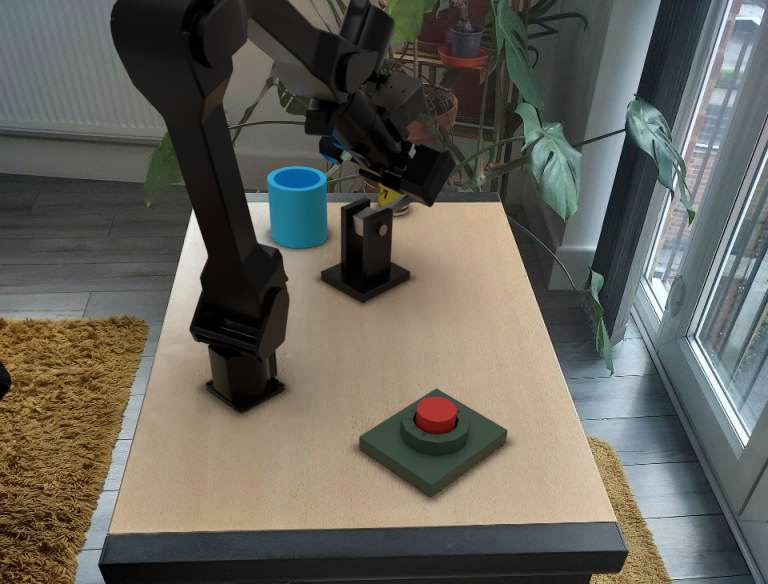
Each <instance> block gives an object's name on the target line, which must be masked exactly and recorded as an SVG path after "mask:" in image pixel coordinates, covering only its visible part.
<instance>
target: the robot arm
mask: <svg viewBox="0 0 768 584" xmlns="http://www.w3.org/2000/svg"><path fill="white" fill-rule="evenodd" d="M340 23H341V24H340V25H339V29H338V32H337V34H336V33H334V32H331V31H327V30H325V29H322V28H319V27H317V26H315V25H313V24H312V22H311V21H309V19H308V18H307V17H305V15H304V14H303V13H302V12H301V11H300V10H299V9H298V8H297V7H296V6H295V5H294V4H293V2H291V1H290V0H116V1H115V3H114V4H113V5H112V9H111V11H110V19H109V30H110V35H111V41H112V43H113V46H114V48H115V51H116V53H117V55H118V58H119V59H120V61H121V64H122V66H123V67H124V69H125V72H126V73H127V76H128V78H129V80H130V81H131V83H132V84H131V85H133V87H134V88H135V89H136V90H137V91H138V92H139V93H140V95H142V96H143V97H144V99H146V101H147V102H148V103H150V105H151V106H152V107H153V108H154V109H155V110H156V111H157V112H158V114H159V115H160V116H161V117H162V119H163V121H164V124H165V126H166V130H167V134H168V136H169V139H170V143H171V145H172V148H173V151H174V154H175V158H176V161H177V164H178V167H179V170H180V174H181V176H182V179H183V182H184V185H185V188H186V191H187V195H188V198H189V201H190V204H191V207H192V211H193V214H194V216H195V220H196V222H197V225H198V228H199V232H200V236H201V238H202V241H203V244H204V247H205V250H206V255H207V258H206V260H205V263H204V265H203V268H202V270H201V273H200V275H199V282H200V285H201V287H200V288H201V291H200V294H199V298H198V300H197V303H196V306H195V309H194V312H193V314H192V315H193V316H192V318H191V322H190V325H189V327H188V331H189V333H190V335H191V336H192V338H193V340H194V342H196V343H199V344H200V343H202V344H205V345H207V352H208V359H209V365H210V371H211V379H210V380H208V381H205V389H206V390H208V391H209V392H210V393H212V394H213V395H215V397H217V398H219V399H220V400H221V401H223V402H224V403H226V404H227V405H229V406H230V407H231V408H233V409H234V410H236V411H237V412H239V413H244V412H246V411H248V410H250V409H251V408H253V407H255V406H257V405H259V404H261V403H262V402H264V401H266V400H268V399H270V398H271V397H273V396H275V395H278V394H279V393H281V392H282V391H284V390H285V389H286V385H285V383H284V382H283V381H281V380H279V379H278V378H276V377H278V374H279V373H278V361H277V350H278V349H279V347H281V346H282V345H283V344H284V343H285V340H286V335H287V326H288V318H289V311H290V293H289V290H288V286H287V282H289V277H288V275H287V273H286V270H285V265H284V256H283V254H282V252H281V250H280V249H279V247H275V246H271V245H267V244H263V243H259V242H258V239H257V235H256V231H255V227H254V223H253V219H252V215H251V211H250V208H249V204H248V200H247V196H246V191H245V187H244V184H243V180H242V176H241V172H240V168H239V164H238V159H237V156H236V153H235V147H234V143H233V141H232V136H231V133H230V129H229V124H228V120H227V116H226V113H225V108H224V102H223V100H224V98H225V94H226V92H227V89H228V86H229V84H230V81H231V78H232V75H233V72H234V62H233V61H234V60H233V56H234V55H235V54H236V53H237V52H238V51H240V49H241V48H243V47H244V45H246V43H247V42H248V40H249V41H250V42H251V43H252V44H253V45H254V46H256V47H257V48H258V49H259V50H260V51H262V52H263V53H264V54H265V55H267V56H268V58H270V59H271V60H272V61H273V62H274V64H276V67H275V72H274V73H275V75H276V78H277V79H278V80H279V82H280V83H281V84H282V86H283V87H284V88H285V90H286V91H287V92H288V93H289V94H290V95H293V96H298V97H303V98H308V99H310V101H309V105H308V108H306V109H305V111H304V113H305V120H304V123H303V127H304V128H303V129H304V130H303V131H304V134H305V135H306V136H314V137H320V139H319V141H318V154H320V155H321V156H322V157H323V158H324V159H325V160H326V161H328V162H330V163H332V164H334V165H337V166H338V167H342V165H343V163H344V162H345V160H344V159H343V158H342V157H341V156H342V154H343V153H344V151H345V152H347V153H348V154H349V155H351V157H350V159H349V161H350V163H351V164H352V165H353V166H354V167H357V168H358V170H357V171H358V172H357V173H358V175H359V176H360V177H362V178H364V179H367V180H369V181H372V182H374V183H377V184H379V183H380V184H382V186H385V187H387V188H389V189H391V190H393V191H396V192H400V191H403V192H404V193H405V194H407V195H408V196H409V197H411V198H412V199H415V200H417V201H419V202H421V203H424V204H426V205H430V204H432V203H434V204H435V202H436V199H437V198H438V196H439V195H440V193H441V191H442V190H443V188H444V186H445V184H446V182H447V181H448V179H449V177H450V175H451V174H452V172H453V170H454V169H455V167H456V166H457V161H456V160H457V159H456V157H455V155H454V154H453V153H452V152H451V150H450V149H448V148H445V147H444V146H441V145H438V144H435V143H433V142H431V141H429V140H427V141H425V142H422V143H420V144H419V145H418V144H416V143H414V142H412V141H410V140H408V138H409V136H410V135H411V131H410V130H409V129H408V126H410V125H411V124H412V123H413V122H414V121H415V120H416V119H417V117H419V116H420V114H422V113H424V112H426V110H427V109H428V106H429V104H428V100H427V97H426V93H425V89H424V85H423V81H422V80H421V79H420V78H416V77H414V76H411V75H409V74H406V73H403V72H395V73H394V72H391V71H388V73H387V74H386V73H385V72H382V68H383V65H384V63H385V59H386V57H387V54H388V51H389V47H390V44H391V42H392V39H393V36H394V33H395V31H396V21H395V20H394V18H393V17H391V16H389V14H387V13H386V12H385V11H384V10H383V9H382V8H380V7H378V6H376V5H375V4H372V3H371V0H349V3H348V4H347V6H346V8H345V11H344V14H343V17H342V20H341V22H340ZM364 85H365V89H363V88H362V86H364ZM434 201H435V202H434ZM419 202H418V203H419ZM421 203H420V204H421Z"/></svg>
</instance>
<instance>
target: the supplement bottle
mask: <svg viewBox="0 0 768 584" xmlns="http://www.w3.org/2000/svg"><path fill="white" fill-rule="evenodd" d="M377 190H378V193H377V194H378V195H377V209H379V208H381V207H382V206H384V205H386V204H388V203H389V202H391V201H393V200H394V199H396V198H398V197H400V196H401V194H398V193H396V192H395V191H393V190H391V189H389V188H387V187H385V186H382V184H380V183H378V189H377ZM409 208H410V204H408V205H407V206H405V207H403V208H402V209H400V210H398V211H396V212H395V213H393V217H398V216H402V215H405V214H407V212H408V211H409V210H410V209H409Z"/></svg>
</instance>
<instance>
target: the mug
mask: <svg viewBox="0 0 768 584" xmlns="http://www.w3.org/2000/svg"><path fill="white" fill-rule="evenodd" d="M327 178H328V177H327V175H326V174H325V172H322V171H321V170H319V169H316V168H313V167H309V166H308V167H307V166H299V165H297V166H296V165H293V166H285V167H281V168H276V169H275V170H273V171H271V172H270V173H269V174H268V175H267V180H266V181H267V182H266V183H267V197H268V206H269V207H268V211H269V221H270V224H269V225H270V235H271V239H272V240H273V241H274V242H275V243H276V244H277V245H279V246H283V247H284V248H285V247H286V248H292V249H307V248H308V249H309V248H313V247H316V246H320V245H321V244H322V243H324V242H326V240H327V239H328V237H329V236H328V231H329V230H328V189H327V188H328V187H327V186H328V185H327Z"/></svg>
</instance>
